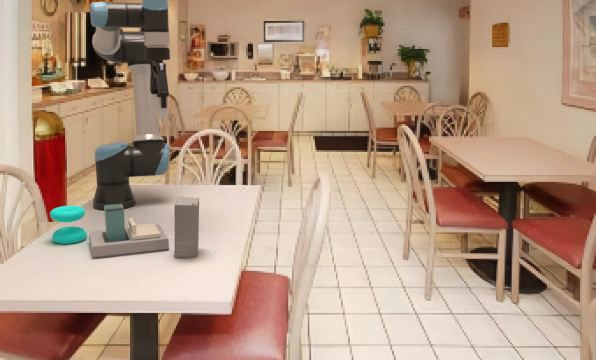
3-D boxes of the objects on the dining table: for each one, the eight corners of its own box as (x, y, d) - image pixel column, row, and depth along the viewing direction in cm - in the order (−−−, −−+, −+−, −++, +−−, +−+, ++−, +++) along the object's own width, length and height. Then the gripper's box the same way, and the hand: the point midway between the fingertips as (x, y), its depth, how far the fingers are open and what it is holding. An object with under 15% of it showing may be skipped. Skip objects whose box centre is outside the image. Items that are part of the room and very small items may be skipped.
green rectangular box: (123, 242, 185) (121, 203, 183) (125, 247, 181) (123, 207, 178) (106, 244, 184) (104, 205, 181) (108, 249, 179) (105, 209, 177)
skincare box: (176, 249, 181) (174, 196, 178) (201, 248, 182) (199, 196, 178) (173, 258, 173) (171, 203, 170) (199, 258, 173) (197, 203, 170)
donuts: (70, 203, 194) (91, 207, 189) (72, 233, 196) (93, 238, 191) (42, 209, 186) (64, 214, 181) (45, 241, 188) (66, 247, 183)
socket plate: (89, 242, 187) (88, 231, 186) (159, 235, 195) (159, 224, 194) (93, 258, 173) (92, 246, 172) (168, 250, 180) (168, 238, 179)
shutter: (127, 228, 189) (126, 216, 188) (153, 226, 191) (153, 213, 191) (132, 239, 178) (131, 226, 177) (160, 236, 180) (159, 223, 180)
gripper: (138, 47, 198) (142, 113, 203) (150, 46, 176) (154, 121, 180) (162, 47, 201) (165, 112, 205) (177, 46, 178) (179, 120, 183)
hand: (160, 116), depth 193 cm, fingers open, 13 cm apart
